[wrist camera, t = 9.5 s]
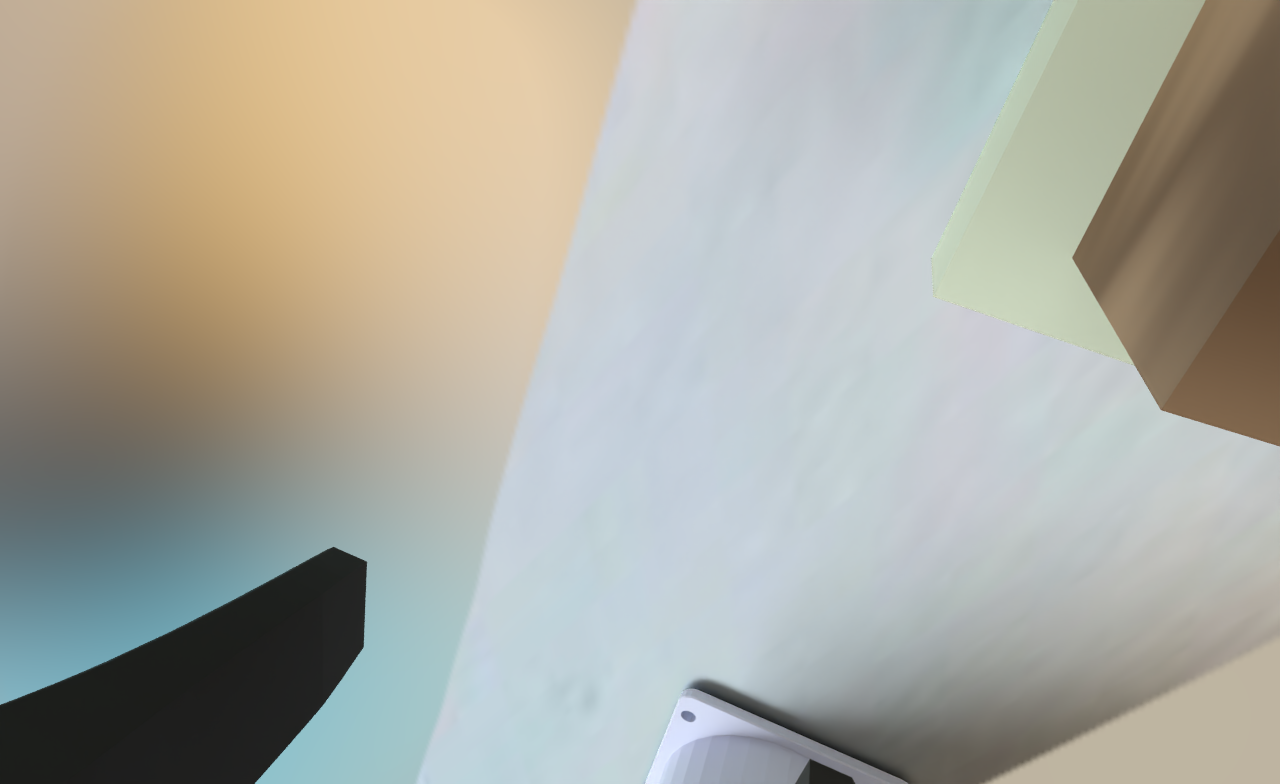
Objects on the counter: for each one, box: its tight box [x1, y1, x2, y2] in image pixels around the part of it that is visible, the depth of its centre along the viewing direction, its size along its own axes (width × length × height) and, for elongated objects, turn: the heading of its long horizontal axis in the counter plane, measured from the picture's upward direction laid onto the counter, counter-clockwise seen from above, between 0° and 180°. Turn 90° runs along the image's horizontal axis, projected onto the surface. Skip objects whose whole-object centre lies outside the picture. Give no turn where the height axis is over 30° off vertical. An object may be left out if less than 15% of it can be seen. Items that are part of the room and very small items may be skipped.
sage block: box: [931, 0, 1206, 366], centre depth 13 cm, size 8×8×3 cm
